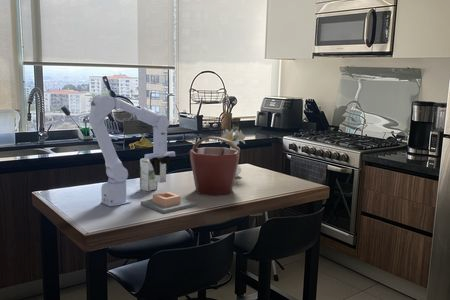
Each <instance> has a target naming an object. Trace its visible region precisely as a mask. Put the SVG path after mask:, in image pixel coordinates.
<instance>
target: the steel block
mask: <svg viewBox="0 0 450 300" xmlns="http://www.w3.org/2000/svg"><path fill="white" fill-rule="evenodd" d="M155 181H156V182H157V183H159V184H162V183H166V182H167V171H166V163H162V162H160V166H159V175H155Z"/></svg>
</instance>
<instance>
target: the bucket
mask: <svg viewBox="0 0 450 300" xmlns="http://www.w3.org/2000/svg"><path fill="white" fill-rule="evenodd" d="M209 139H213V140H214V139H215V140H218V141H223V142H224V143H225V144H226V143H228V144H227V145H229V146H231V147H232V148H234V149H236V150H234V149H230V147H229V148H228V147H211V146H210V147H208V146H207V147H205V146H204V147H198V146H199V145H200V144H201V143H203V142H204V141H206V140H209ZM223 142H222V143H223ZM240 153H241V148H240V147H239V146H238V145H235V144H234V143H233V142H232V141H230V140H227V139H224V138H221V137H220V136H206V137H204V138H203V137H202V139H199V140H197V141H195V143H194V144H193V145H192V149H190V150H189V160H190V165H191V170H192V175H193V180H194V181H193V182H194V185H195V190H196V192H197V193H198V194H199V195H205V196H210V197H211V196H212V197H218V196H226V195H231V193H232V192H233V188H234V183H235V180H236V179H235V178H236V177H235V175H236V170H237V166H238V165H239V159H240Z"/></svg>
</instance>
